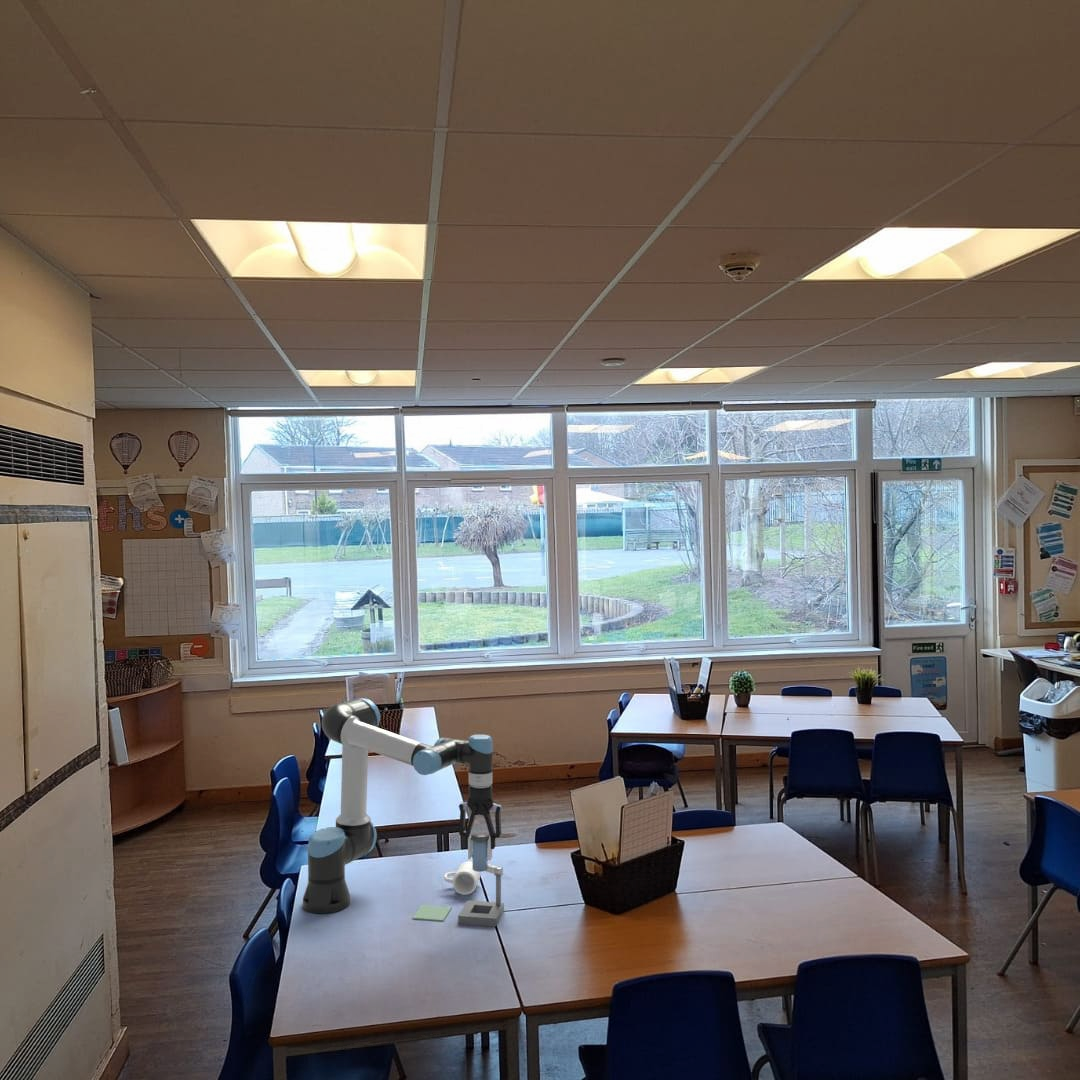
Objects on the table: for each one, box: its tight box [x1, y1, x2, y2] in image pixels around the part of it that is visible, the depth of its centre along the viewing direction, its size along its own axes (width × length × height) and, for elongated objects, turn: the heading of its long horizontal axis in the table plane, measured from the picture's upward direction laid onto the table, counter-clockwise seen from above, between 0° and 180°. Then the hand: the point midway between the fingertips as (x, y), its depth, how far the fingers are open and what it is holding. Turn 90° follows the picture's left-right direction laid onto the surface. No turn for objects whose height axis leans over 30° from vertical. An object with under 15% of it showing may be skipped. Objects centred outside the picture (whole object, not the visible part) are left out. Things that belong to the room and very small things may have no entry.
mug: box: [443, 860, 482, 896], centre depth 310 cm, size 12×10×8 cm
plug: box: [470, 832, 490, 873], centre depth 287 cm, size 6×6×10 cm
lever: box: [485, 863, 504, 877], centre depth 293 cm, size 11×3×2 cm, turn 52°
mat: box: [412, 904, 453, 922], centre depth 290 cm, size 10×10×1 cm
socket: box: [457, 875, 505, 928], centre depth 287 cm, size 12×12×12 cm
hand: (480, 858), depth 287 cm, fingers closed on plug, 6 cm apart
